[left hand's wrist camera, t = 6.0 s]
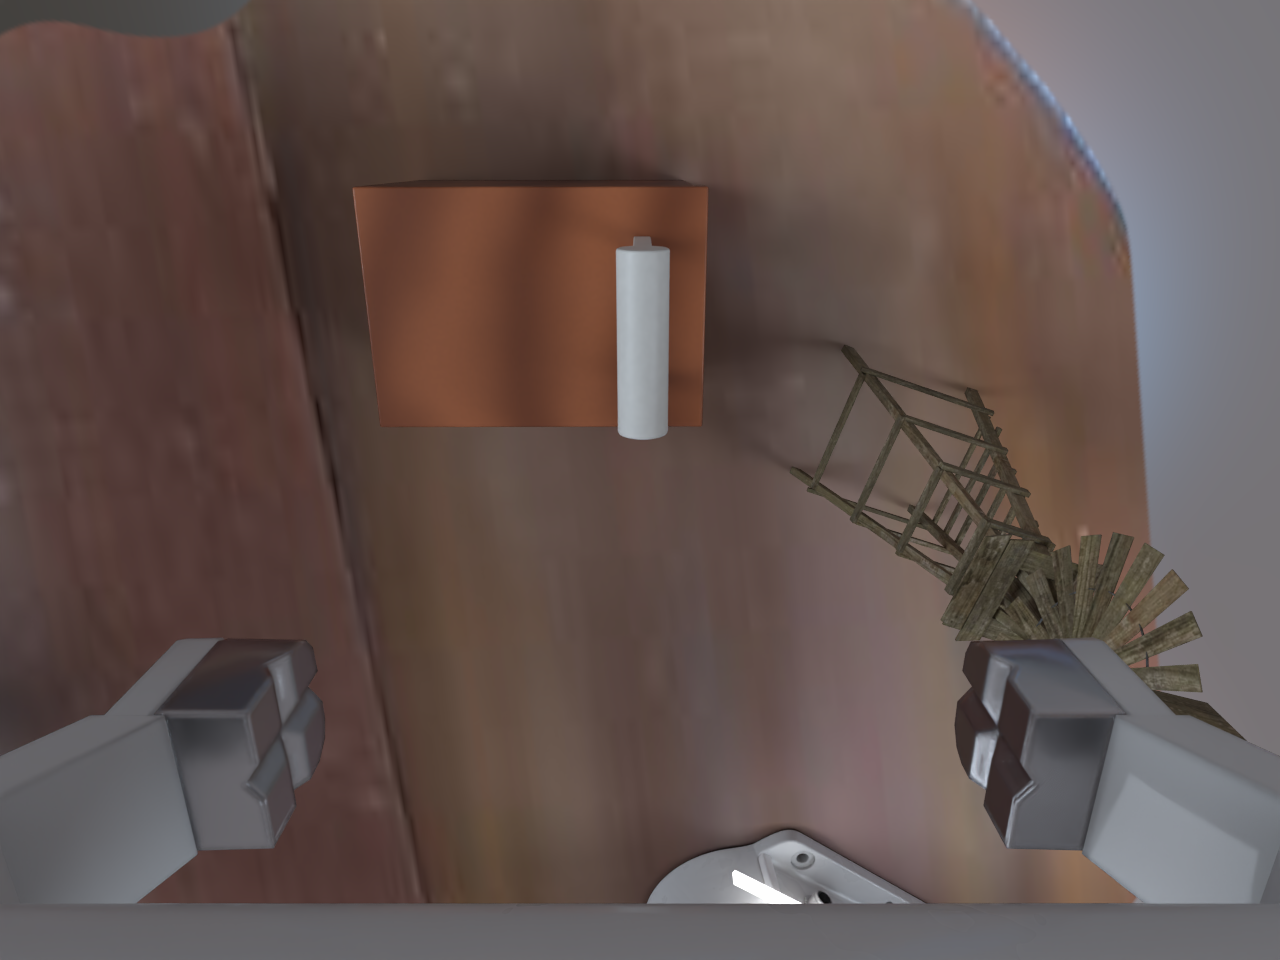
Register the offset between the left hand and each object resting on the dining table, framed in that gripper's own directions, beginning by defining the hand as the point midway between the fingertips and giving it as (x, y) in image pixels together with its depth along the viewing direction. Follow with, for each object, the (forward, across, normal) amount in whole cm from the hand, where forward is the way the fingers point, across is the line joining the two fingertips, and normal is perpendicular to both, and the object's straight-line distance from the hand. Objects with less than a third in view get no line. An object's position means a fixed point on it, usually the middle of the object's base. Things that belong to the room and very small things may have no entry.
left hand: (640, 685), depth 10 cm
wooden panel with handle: (+28, +4, 0) cm, 29 cm away
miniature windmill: (+38, -14, +9) cm, 42 cm away
